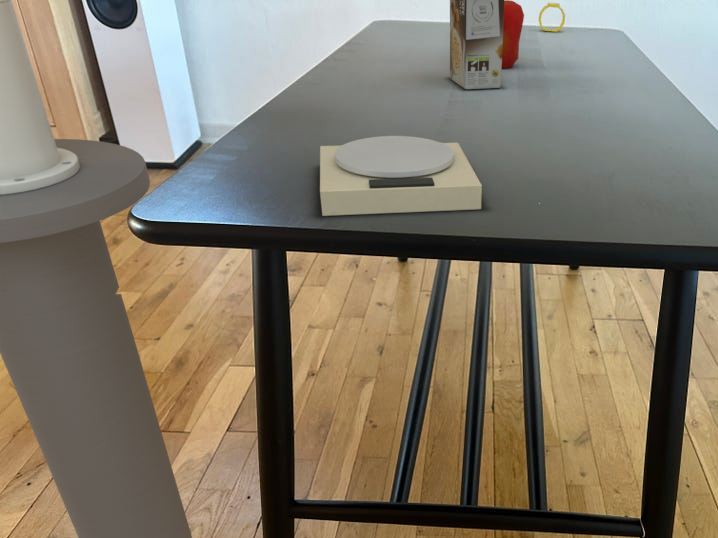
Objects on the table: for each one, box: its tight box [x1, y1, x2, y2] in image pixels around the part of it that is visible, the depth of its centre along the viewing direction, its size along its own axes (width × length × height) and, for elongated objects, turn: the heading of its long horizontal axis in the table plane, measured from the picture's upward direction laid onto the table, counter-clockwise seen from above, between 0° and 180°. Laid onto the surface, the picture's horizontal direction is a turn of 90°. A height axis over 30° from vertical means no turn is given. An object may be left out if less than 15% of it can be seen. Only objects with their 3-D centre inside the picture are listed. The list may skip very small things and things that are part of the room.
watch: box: [538, 2, 566, 33], centre depth 160 cm, size 6×3×6 cm, turn 92°
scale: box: [319, 135, 483, 217], centre depth 70 cm, size 15×14×3 cm
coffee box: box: [449, 0, 505, 90], centre depth 108 cm, size 9×6×16 cm
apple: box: [502, 0, 525, 69], centre depth 122 cm, size 9×8×12 cm
